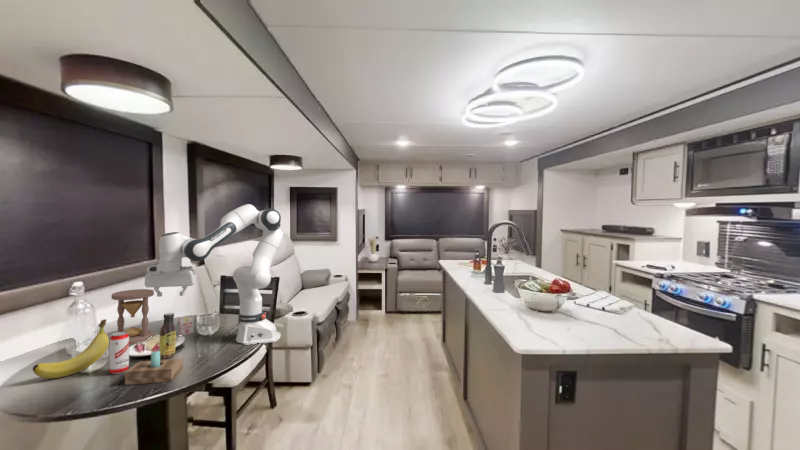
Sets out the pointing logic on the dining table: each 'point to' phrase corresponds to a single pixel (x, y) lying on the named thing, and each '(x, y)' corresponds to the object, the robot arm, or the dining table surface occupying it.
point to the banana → (76, 358)
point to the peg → (155, 359)
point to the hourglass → (134, 312)
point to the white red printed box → (185, 325)
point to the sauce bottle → (167, 337)
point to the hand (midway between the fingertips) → (170, 295)
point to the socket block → (154, 372)
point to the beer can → (119, 353)
